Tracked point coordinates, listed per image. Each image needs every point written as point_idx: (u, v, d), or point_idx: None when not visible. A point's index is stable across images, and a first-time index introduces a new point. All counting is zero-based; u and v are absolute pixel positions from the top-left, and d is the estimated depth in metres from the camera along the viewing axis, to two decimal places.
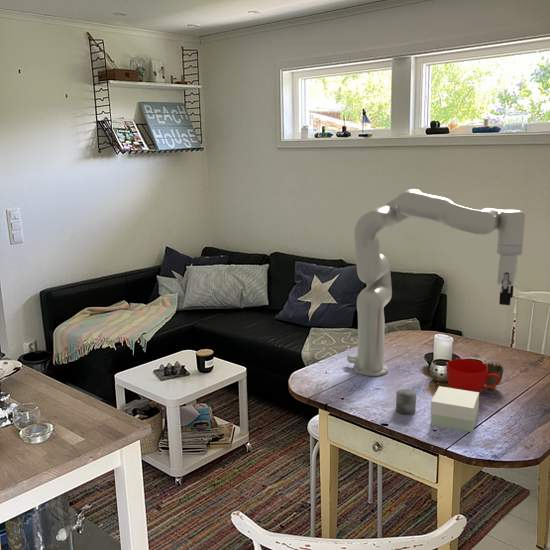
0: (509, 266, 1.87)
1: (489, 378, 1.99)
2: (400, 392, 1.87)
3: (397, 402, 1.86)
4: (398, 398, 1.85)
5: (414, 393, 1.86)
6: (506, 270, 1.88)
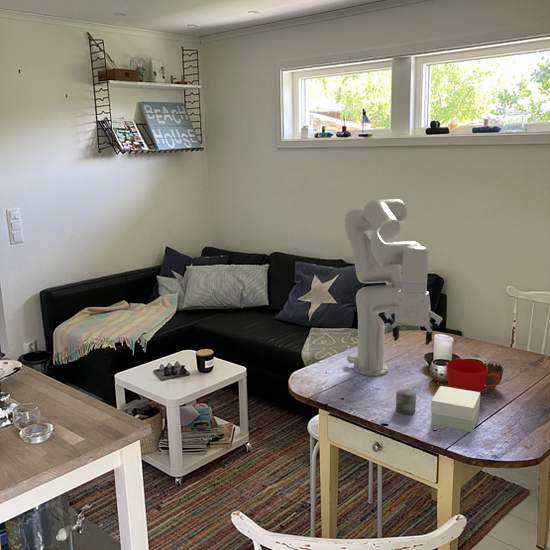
0: None
1: (489, 378, 1.99)
2: (400, 392, 1.87)
3: (397, 402, 1.86)
4: (398, 398, 1.85)
5: (414, 393, 1.86)
6: (429, 308, 1.78)
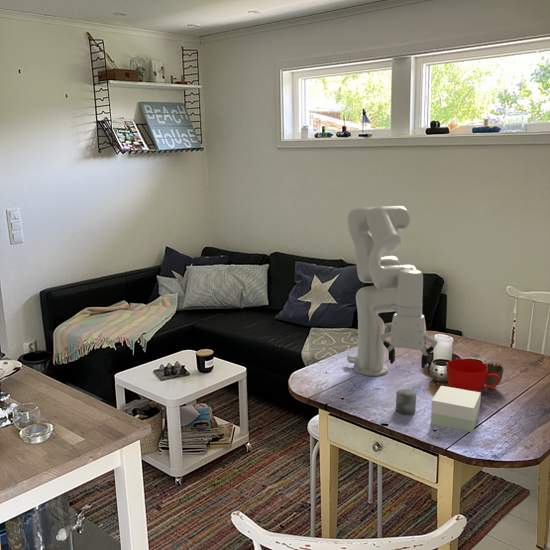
0: (425, 326, 1.80)
1: (489, 378, 1.99)
2: (400, 392, 1.87)
3: (397, 402, 1.86)
4: (398, 398, 1.85)
5: (414, 393, 1.86)
6: (425, 331, 1.79)
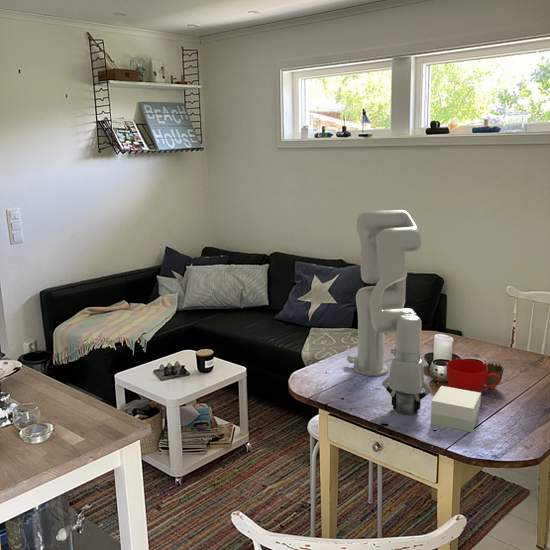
0: None
1: (489, 378, 1.99)
2: (400, 392, 1.87)
3: (397, 402, 1.86)
4: (398, 398, 1.85)
5: None
6: (423, 377, 1.83)
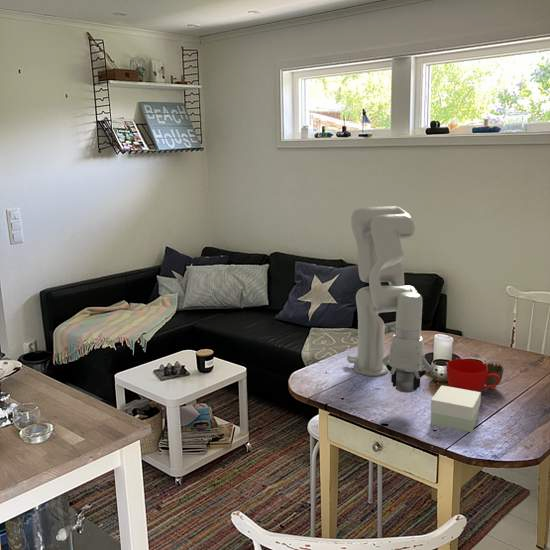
0: (423, 348, 1.82)
1: (489, 378, 1.99)
2: (400, 370, 1.86)
3: (397, 380, 1.85)
4: (398, 376, 1.84)
5: None
6: (423, 355, 1.82)
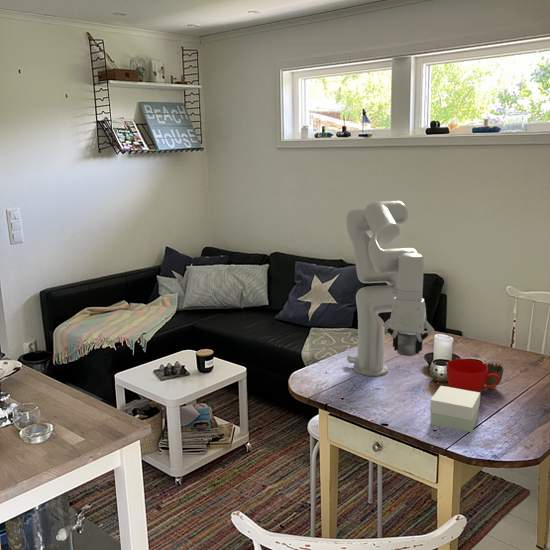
0: (425, 310, 1.79)
1: (489, 378, 1.99)
2: (402, 333, 1.83)
3: (398, 343, 1.82)
4: (399, 339, 1.81)
5: None
6: (425, 317, 1.79)
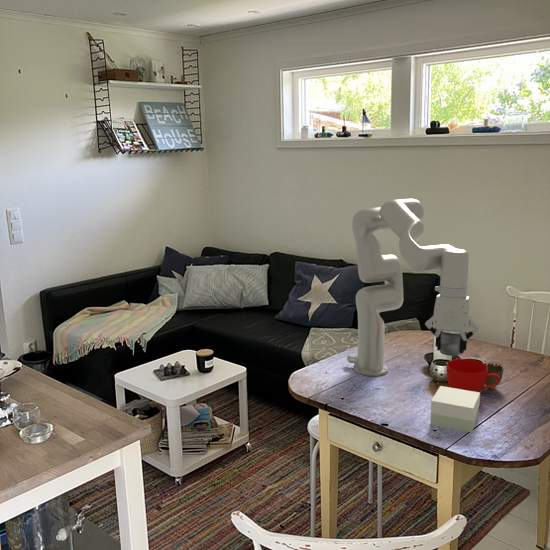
0: None
1: (489, 378, 1.99)
2: (445, 332, 1.77)
3: (442, 342, 1.76)
4: (443, 338, 1.75)
5: None
6: (470, 315, 1.72)
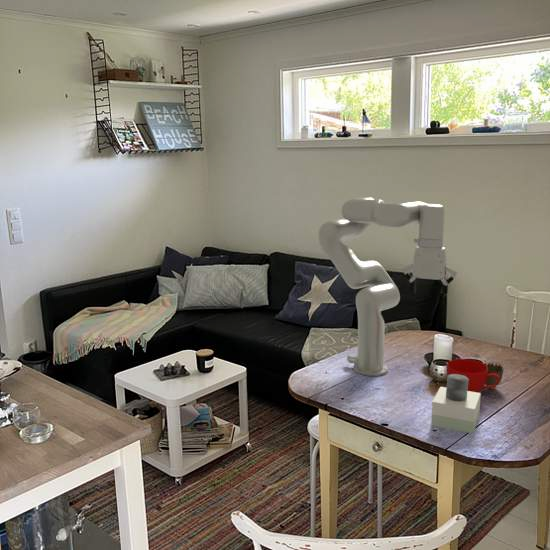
0: (445, 258, 1.91)
1: (489, 378, 1.99)
2: (451, 377, 1.78)
3: (448, 387, 1.77)
4: (449, 383, 1.77)
5: (466, 378, 1.77)
6: (445, 262, 1.91)
